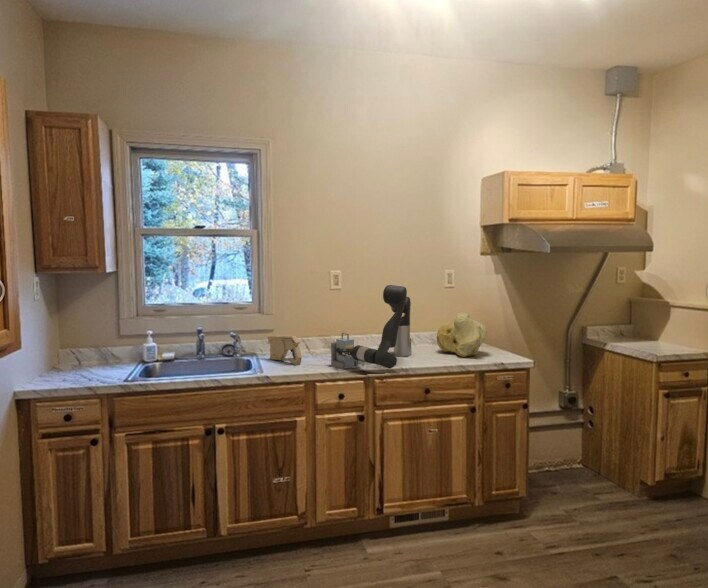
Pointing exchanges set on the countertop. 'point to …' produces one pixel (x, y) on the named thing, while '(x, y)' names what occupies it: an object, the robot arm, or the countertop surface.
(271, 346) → the tan cutout panel
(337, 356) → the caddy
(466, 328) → the sculpture
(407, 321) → the robot arm
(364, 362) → the tray
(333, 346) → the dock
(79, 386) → the countertop surface
